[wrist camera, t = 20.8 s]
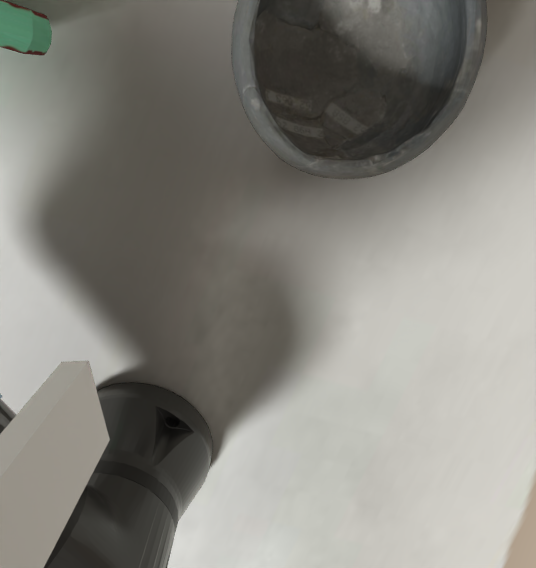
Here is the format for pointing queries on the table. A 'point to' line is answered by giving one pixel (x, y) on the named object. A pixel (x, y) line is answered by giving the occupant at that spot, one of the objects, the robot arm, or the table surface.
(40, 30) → the mug
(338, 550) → the table surface
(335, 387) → the table surface
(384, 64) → the bowl
